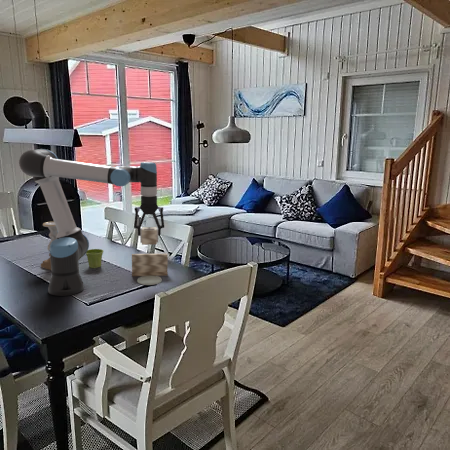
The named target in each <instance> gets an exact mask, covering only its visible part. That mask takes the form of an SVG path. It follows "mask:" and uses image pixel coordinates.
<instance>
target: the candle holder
mask: <svg viewBox="0 0 450 450" xmlns="http://www.w3.org/2000/svg"><path fill="white" fill-rule="evenodd" d="M42 226H43V227H46V228H48V229H49V234H48V236H49V238H50V242H49V243H48V245H47V248H46V249H47V251H48V252H49V253H48V255H49V257H48V258H47V259H44V260H42V263H40V267H41V268H42V269H45V270H48V271H51V259H50V244H51V242H52V241H54V240H56V239H57V238H56V236H57V234H58V232H57V228H56V225H55V223H54V220H53V221H47V222H46V221H45V222H43V223H42Z"/></svg>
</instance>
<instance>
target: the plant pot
mask: <svg viewBox="0 0 450 450" xmlns="http://www.w3.org/2000/svg"><path fill="white" fill-rule="evenodd" d="M103 254H104V249H100V248H92V249H88V251H87V252H86V254H85V255H86V257H87V262H88V263H87V264H88V267H89V268H90V269H97V268H101V267H102V258H103Z"/></svg>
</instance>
